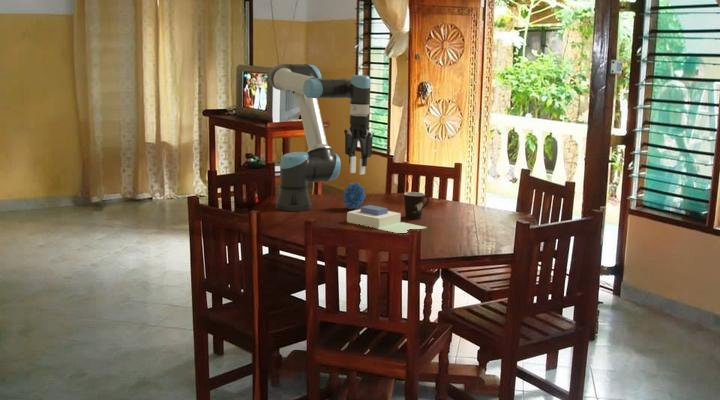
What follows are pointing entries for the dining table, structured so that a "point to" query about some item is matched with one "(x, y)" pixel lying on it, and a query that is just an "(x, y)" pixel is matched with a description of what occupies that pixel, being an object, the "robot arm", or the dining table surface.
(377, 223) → the cream flat block
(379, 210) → the blue rectangular block
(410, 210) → the coffee mug
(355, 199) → the grapes
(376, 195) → the dining table surface
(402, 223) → the mat
